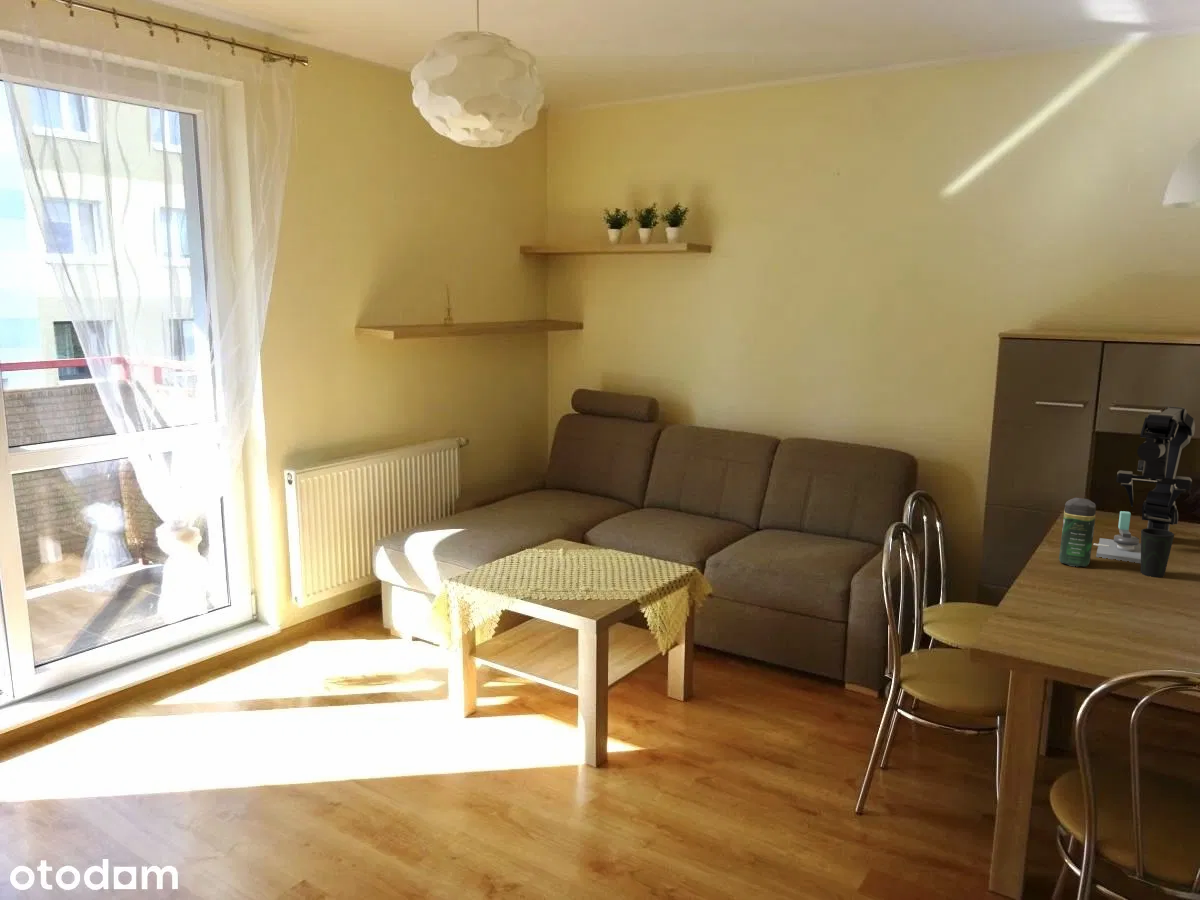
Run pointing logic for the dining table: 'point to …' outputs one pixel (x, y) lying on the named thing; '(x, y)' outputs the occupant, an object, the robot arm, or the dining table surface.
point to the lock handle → (1125, 531)
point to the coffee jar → (1077, 532)
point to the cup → (1155, 551)
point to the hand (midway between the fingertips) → (1149, 508)
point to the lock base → (1118, 551)
